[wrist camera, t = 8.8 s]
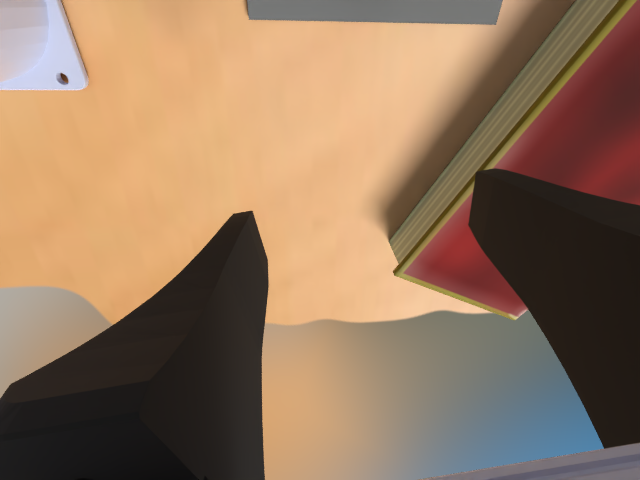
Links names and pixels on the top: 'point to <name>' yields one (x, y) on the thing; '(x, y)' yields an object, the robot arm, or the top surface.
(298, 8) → the mat
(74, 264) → the top surface
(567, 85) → the hardcover book
